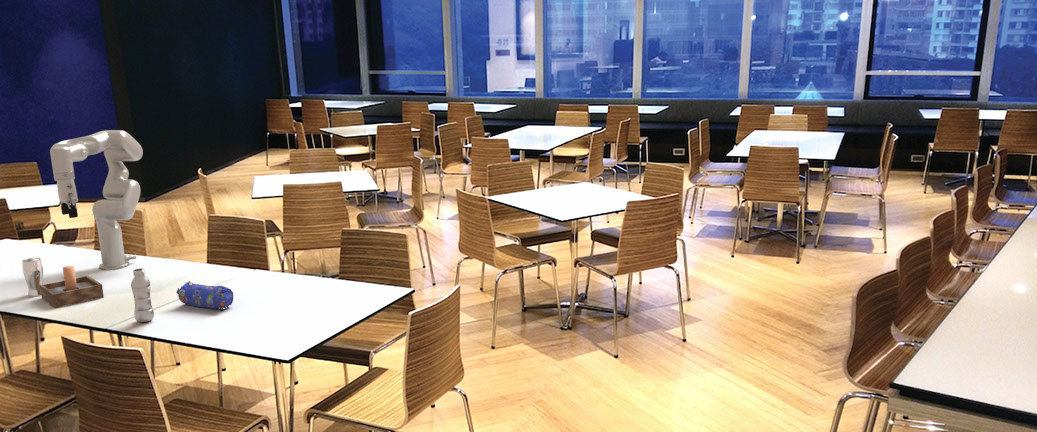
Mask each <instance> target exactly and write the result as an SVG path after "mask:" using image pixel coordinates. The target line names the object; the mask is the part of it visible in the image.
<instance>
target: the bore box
mask: <svg viewBox="0 0 1037 432" xmlns="http://www.w3.org/2000/svg"><path fill="white" fill-rule="evenodd" d="M76 284H77V289H75V290H70V291H66V287H65V280H64V279H63V280H59V281H58V280H57V281H55V282H54V281H53V282H49V283H43V285H40V290H41V297H40V298H41V299H42V300H43V301H45V302H46V303H48V305H50V306H51V307H53V308H54V309H57V308H61V307H66V306H71V305H75V304H79V303H83V302H89V301H94V300H97V299H98V300H99V299H102V298H104V297H105V295H104V288H103V283H100V282H98V281H97V280H95V278H92V277H91V276H89V275H84V276H79V277H76Z"/></svg>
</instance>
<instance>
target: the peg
mask: <svg viewBox="0 0 1037 432" xmlns="http://www.w3.org/2000/svg"><path fill="white" fill-rule="evenodd" d="M62 272H63V280H65V287H66V291H70V290H75V289H77V284H76V278H77V277H76V270H75V266H74V265H66V266H63V267H62Z"/></svg>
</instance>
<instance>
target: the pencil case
mask: <svg viewBox="0 0 1037 432" xmlns="http://www.w3.org/2000/svg"><path fill="white" fill-rule="evenodd" d="M175 293H176V294H177V296H178V299H179V301H180V302H181V303H182V304H185V305H187V304H189V305H188V306H193V307H197V306H201V307H200V308H204V307H209V308H208V309H217V308H220V309H219V310H222V309H223V308H226V307H228V306H229V305H231V306H232V305H233V302H234V293H233V290H232V289H231V288H229V287H226V286H224V285H206V284H205V285H204V284H198V283H193V282H192V281H191V280H188V281H187V282H186V283H183V285H182V286H181V287H180V288H177V290H176V292H175ZM228 308H229V307H228Z"/></svg>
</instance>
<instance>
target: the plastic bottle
mask: <svg viewBox="0 0 1037 432" xmlns="http://www.w3.org/2000/svg"><path fill="white" fill-rule="evenodd" d="M132 272H133V276H134V277H133V279H132V280H131V282H130V288H131V291H132V295H133V300H134V314H133V315H134V320H135V321H137V322H138V323H147V322H151V321H152V320H154V317H155V311H154V309H153V305H152V301H151V300H152V299H151V281H150V279H149V278H148V277H147V276H146V271H145V268H135V269H133V271H132Z"/></svg>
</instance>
